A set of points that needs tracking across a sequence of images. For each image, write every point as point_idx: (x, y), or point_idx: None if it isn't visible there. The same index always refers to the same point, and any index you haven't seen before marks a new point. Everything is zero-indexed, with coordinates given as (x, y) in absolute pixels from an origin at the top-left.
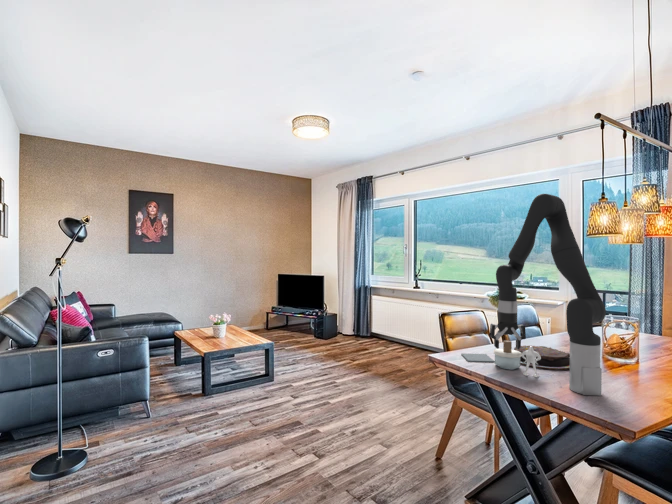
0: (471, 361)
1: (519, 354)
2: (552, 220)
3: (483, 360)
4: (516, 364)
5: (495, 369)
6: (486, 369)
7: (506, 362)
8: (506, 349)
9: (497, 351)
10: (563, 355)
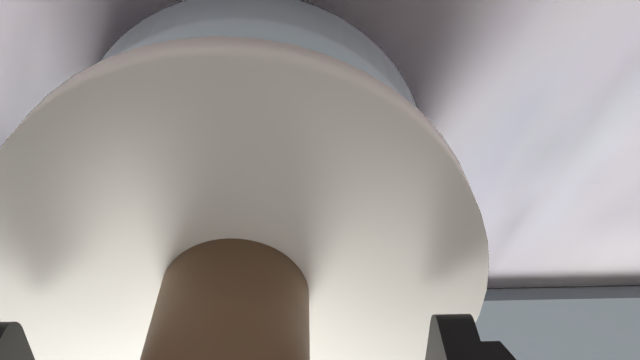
0: (629, 289)
1: (26, 151)
2: None
3: (482, 312)
4: (150, 28)
5: (475, 20)
6: (615, 6)
7: (325, 41)
8: (271, 294)
9: (420, 300)
10: None
